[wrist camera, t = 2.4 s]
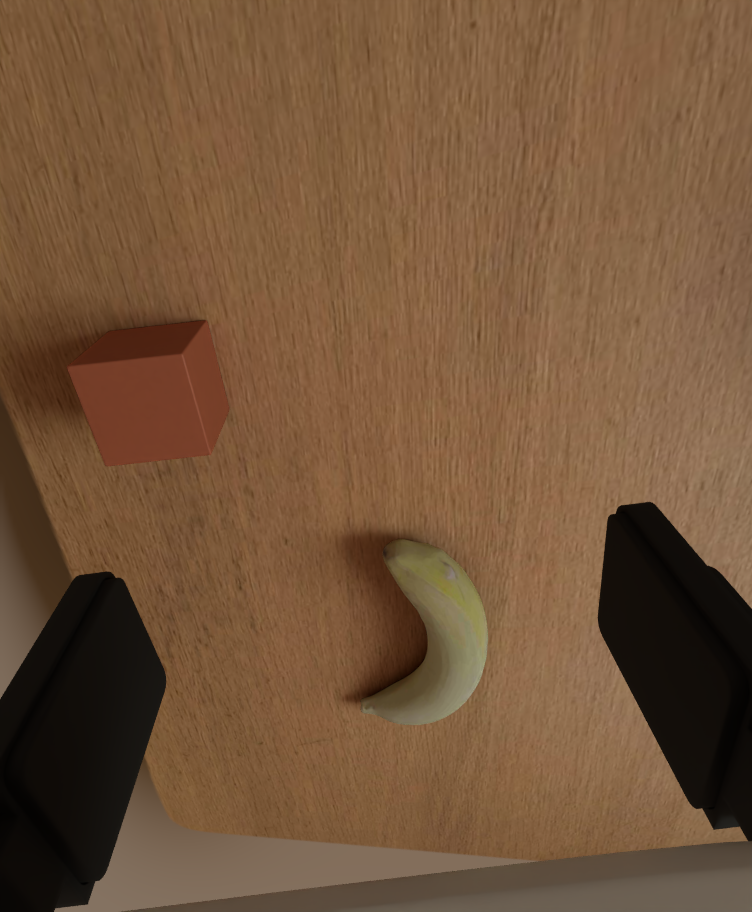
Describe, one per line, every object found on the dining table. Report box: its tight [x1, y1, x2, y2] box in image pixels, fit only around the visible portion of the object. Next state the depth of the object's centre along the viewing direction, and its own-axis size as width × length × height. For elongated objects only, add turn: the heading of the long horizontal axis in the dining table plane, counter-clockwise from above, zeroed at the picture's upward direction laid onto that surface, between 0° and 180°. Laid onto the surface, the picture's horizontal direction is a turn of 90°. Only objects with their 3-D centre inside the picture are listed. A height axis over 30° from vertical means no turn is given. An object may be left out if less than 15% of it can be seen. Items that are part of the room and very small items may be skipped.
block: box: [67, 320, 229, 466], centre depth 25 cm, size 4×4×4 cm
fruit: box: [360, 539, 488, 725], centre depth 34 cm, size 7×15×3 cm, turn 174°
